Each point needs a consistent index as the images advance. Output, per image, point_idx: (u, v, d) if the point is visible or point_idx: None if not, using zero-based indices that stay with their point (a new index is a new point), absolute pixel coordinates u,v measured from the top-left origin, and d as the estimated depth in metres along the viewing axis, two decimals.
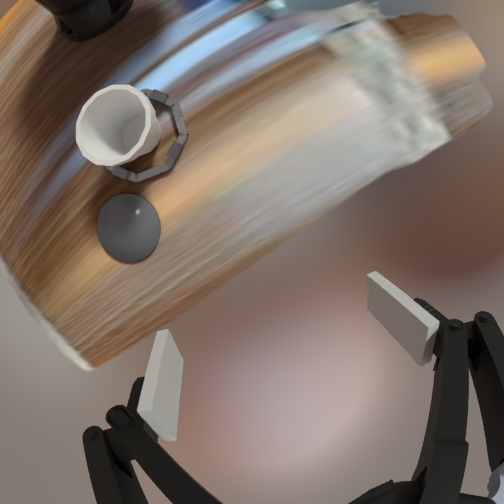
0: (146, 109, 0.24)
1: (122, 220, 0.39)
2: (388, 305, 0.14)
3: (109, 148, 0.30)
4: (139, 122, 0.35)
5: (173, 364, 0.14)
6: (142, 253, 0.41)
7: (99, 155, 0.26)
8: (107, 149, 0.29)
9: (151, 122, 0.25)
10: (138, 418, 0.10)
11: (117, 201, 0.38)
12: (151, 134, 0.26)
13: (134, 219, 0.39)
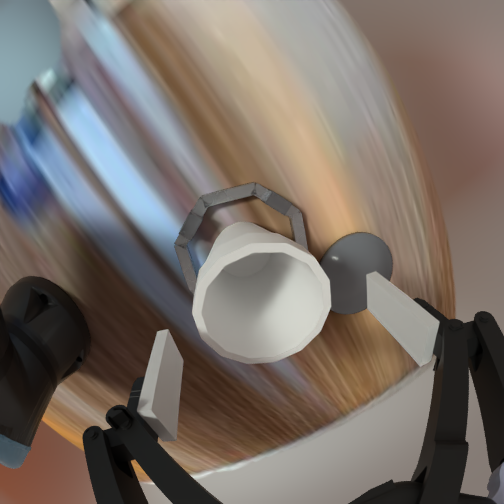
0: (253, 250, 0.16)
1: (348, 281, 0.32)
2: (388, 305, 0.14)
3: (273, 301, 0.25)
4: None
5: (173, 364, 0.14)
6: (387, 260, 0.32)
7: (300, 323, 0.20)
8: (275, 304, 0.24)
9: (276, 241, 0.17)
10: (138, 418, 0.10)
11: None
12: (289, 240, 0.18)
13: (351, 265, 0.31)
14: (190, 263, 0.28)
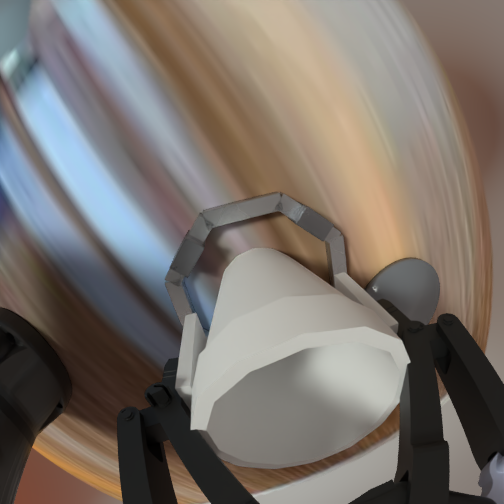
0: (304, 345, 0.08)
1: None
2: None
3: (307, 367, 0.16)
4: None
5: (202, 346, 0.16)
6: (435, 290, 0.23)
7: (352, 411, 0.12)
8: (310, 372, 0.16)
9: (346, 321, 0.08)
10: (175, 396, 0.11)
11: None
12: (358, 308, 0.10)
13: (396, 300, 0.23)
14: (188, 305, 0.20)
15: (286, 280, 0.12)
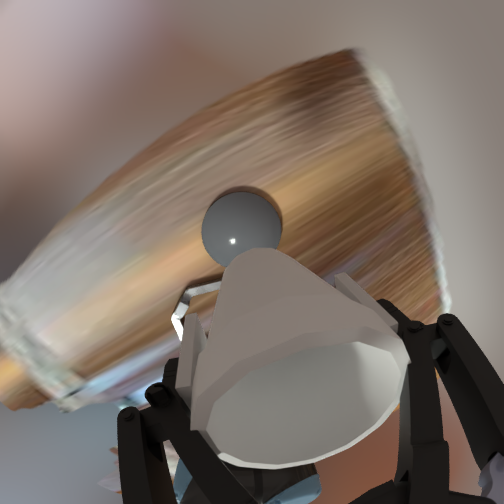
0: (304, 345, 0.08)
1: (245, 241, 0.38)
2: None
3: (307, 366, 0.16)
4: None
5: (202, 346, 0.16)
6: (227, 201, 0.36)
7: (352, 411, 0.12)
8: (310, 372, 0.16)
9: (346, 321, 0.08)
10: (175, 396, 0.11)
11: None
12: (359, 308, 0.09)
13: (230, 241, 0.37)
14: None
15: (286, 280, 0.12)
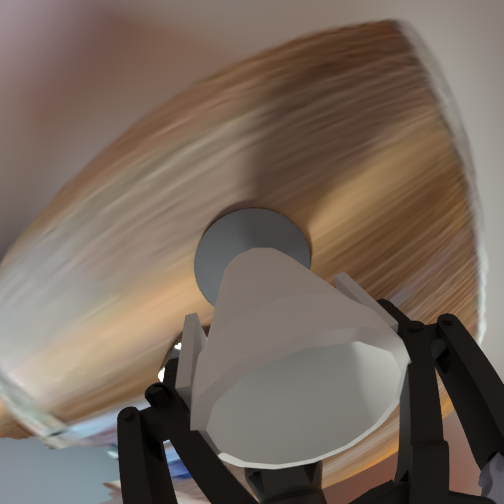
0: (304, 345, 0.08)
1: None
2: None
3: (307, 367, 0.16)
4: None
5: (202, 346, 0.16)
6: (232, 222, 0.24)
7: (352, 411, 0.12)
8: (310, 372, 0.16)
9: (346, 321, 0.08)
10: (174, 396, 0.11)
11: None
12: (359, 308, 0.09)
13: None
14: None
15: (286, 279, 0.12)
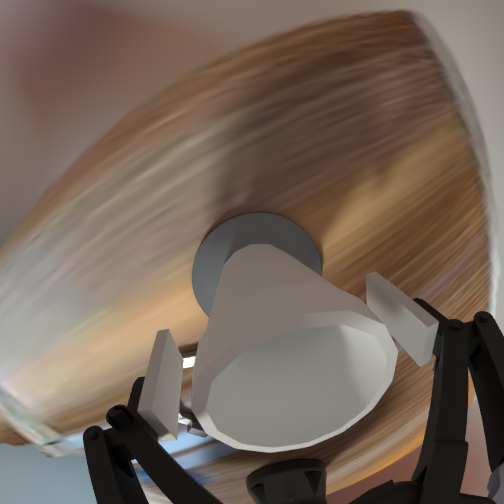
0: (292, 326, 0.09)
1: None
2: (388, 305, 0.14)
3: (302, 356, 0.17)
4: None
5: (173, 364, 0.14)
6: (235, 228, 0.21)
7: (344, 396, 0.13)
8: (305, 361, 0.17)
9: (331, 305, 0.09)
10: (138, 418, 0.10)
11: None
12: (344, 295, 0.11)
13: None
14: None
15: (279, 271, 0.13)
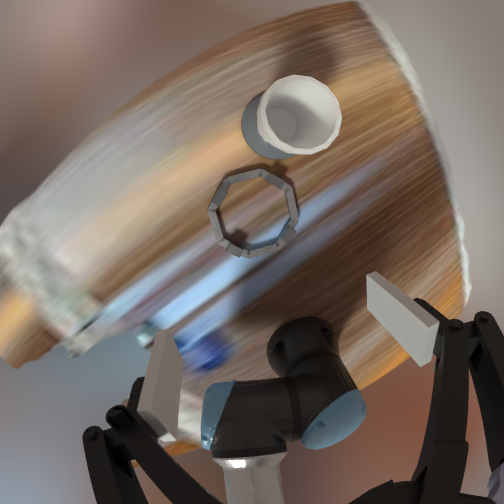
0: (294, 78, 0.25)
1: None
2: (388, 305, 0.14)
3: (303, 141, 0.33)
4: None
5: (173, 364, 0.14)
6: None
7: (324, 136, 0.29)
8: (305, 141, 0.33)
9: None
10: (138, 418, 0.10)
11: (284, 152, 0.40)
12: None
13: None
14: (260, 248, 0.45)
15: None
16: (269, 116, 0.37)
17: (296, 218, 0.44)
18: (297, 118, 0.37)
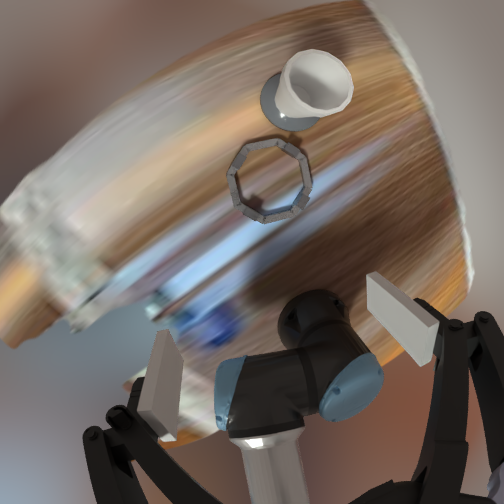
0: (313, 52, 0.26)
1: None
2: (388, 305, 0.14)
3: None
4: None
5: (173, 364, 0.14)
6: None
7: (338, 102, 0.30)
8: None
9: None
10: (138, 418, 0.10)
11: (298, 125, 0.42)
12: None
13: None
14: (275, 214, 0.46)
15: None
16: None
17: (310, 186, 0.45)
18: (311, 94, 0.39)
